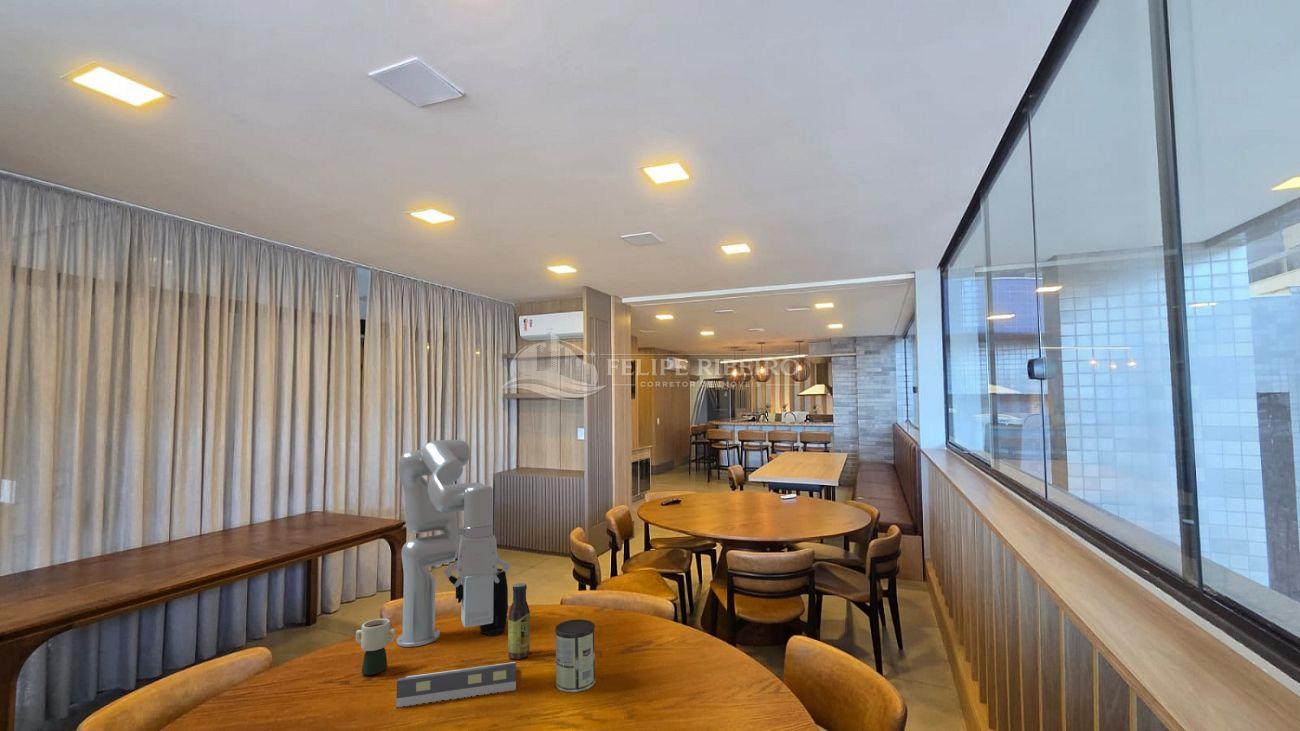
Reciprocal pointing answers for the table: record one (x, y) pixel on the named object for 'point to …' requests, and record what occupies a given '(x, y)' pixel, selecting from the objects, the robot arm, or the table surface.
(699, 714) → the table surface
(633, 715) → the table surface
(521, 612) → the sauce bottle
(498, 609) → the portable speaker
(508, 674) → the rail
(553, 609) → the table surface
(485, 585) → the supplement box
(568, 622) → the coffee can
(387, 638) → the character mug
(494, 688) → the shelf board
